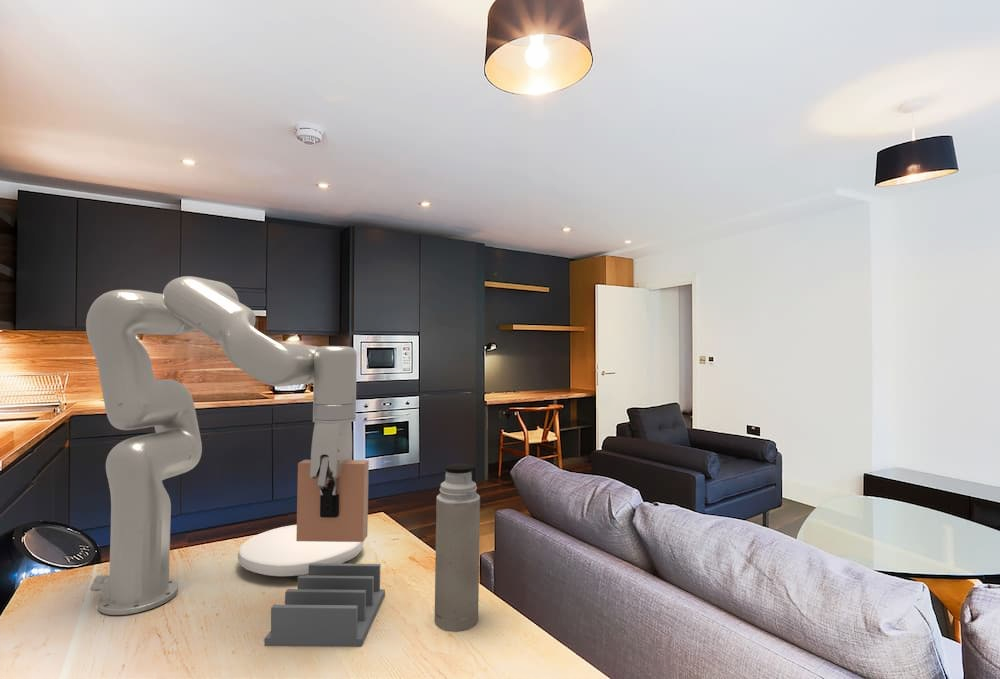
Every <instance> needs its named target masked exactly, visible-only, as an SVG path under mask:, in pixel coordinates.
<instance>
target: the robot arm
mask: <svg viewBox="0 0 1000 679" xmlns="http://www.w3.org/2000/svg"><path fill="white" fill-rule="evenodd" d="M163 288H164V289H163V292H162V293H156V292H152V291H146V290H136V289H115V290H110V291H107V292H104V293H103V294H102V295H100V296H99V297H97V298H96V299H95V300H94V301H93V302H92V304H91V306H89V307H90V308H89V310H88V312H87V315H86V320H85V329H86V335H87V338H88V342H89V346H90V347H91V350H92V353H93V355H94V358H95V360H96V365H97V369H98V377H99V382H100V388H101V392H102V397H103V398H102V399H103V403H104V408H105V412H106V416H107V419H108V422H109V423H110V425H111V426H113V428H115V429H118V430H120V431H121V430H122V431H133V430H139V429H145V428H151V427H154V431H155V432H152V433H146V434H142V435H137V436H133V437H130V438H127V439H124V440H122V441H121V442H119V443H117V444H116V445H115V446H113V447H112V449H111V450H110V451H109V453H108V454H107V457H106V460H105V472H106V477H107V482H108V488H109V492H110V543H109V544H110V546H109V547H110V548H109V575H96V577H95V578H94V579H93V583H92V584H91V585H90V589H89V591H91V592H99V591H102V597H100V599H99V600H98V603H97V610H98V611H99V612H100V613H102V614H104V615H108V616H109V615H111V616H123V615H124V616H125V615H131V614H132V615H133V614H137V613H142V612H144V611H149V610H151V609H155V608H157V607H159V606H162V605H163V604H166V603H167V602H169V601H171V600H172V599H173V598H175V596H177V594H178V590H179V584H178V583H177V582H176V581H174V580H173V579H170V553H171V551H170V550H171V548H170V547H171V521H172V520H171V517H172V516H171V515H172V514H171V513H172V510H171V509H172V503H171V498H170V496H169V493H168V492H167V489H166V488H165V486H164V484H163V481H164V480H167V479H169V478H172V477H176V476H179V475H183V474H185V473H187V472H190V471H191V470H193V469H194V468H195V467H196V466H198V464H199V462H200V460H201V457H202V453H203V445H202V444H203V442H202V439H201V432H200V428H199V422H198V417H197V412H196V409H195V408H196V406H195V402H194V398H193V396H192V394H191V392H190V390H189V389H188V388H187V387H186V386H185V385H184V384H183V383H181V382H180V381H177V380H175V379H168V378H166V379H165V378H164V379H156V377H155V374H154V371H153V367H152V360H151V357H150V355H149V353H148V351H147V349H146V348H145V346H143V344H142V343H141V342H140V341H139V340H138V338H137V335H139V334H140V335H141V334H142V335H159V336H160V335H161V336H174V335H175V336H176V335H182V334H187V333H191V332H193V331H199V332H201V333H202V334H204V335H206V336H207V337H208V338H209V339H212V340H213V341H214V342H216V343H218V344H219V345H221V348H222V351H223V353H224V354H225V356H226V357H227V359H228V360H229V362H231V363H232V364H233V365H234V366H235V367H237V368H238V369H239V370H241V371H242V372H244V373H246V374H247V375H249V376H250V377H252V378H254V379H256V380H257V381H259V382H261V383H263V384H265V385H268V386H271V387H279V388H281V387H288V386H297V385H306V384H307V385H308V384H313V391H312V392H313V395H312V396H313V398H312V403H313V404H312V423H314V425H313V426H314V427H313V432H312V440H311V449H310V460H311V463H310V477H311V478H312V479H315V478H317V477H319V479H318V487H319V488H320V517H327V518H336V517H338V515H339V494H337V487H338V477H339V476H341V475H342V472H343V465H344V463H345V462H347V461H348V460H353V430H352V422H356V421H357V418H356V417H357V413H356V412H357V368H358V366H357V365H358V363H357V362H358V361H357V360H358V357H357V356H358V355H357V351H356V350H355V348H353V347H352V346H346V345H345V346H344V345H343V346H341V345H325V346H316V345H311V344H297V343H295V344H294V343H280V342H278V341H276V340H274V339H272V338H271V337H269V336H267V335H266V334H264V333H263V332H261V331H259V330H258V329H257V328H255V324H256V318H257V317H256V314H255V313H254V311H253V310H252V309H251V308H250V307H248V306H247V305H245V304H243V303H241V302H240V300H239V296H238V294H237V292H236V291H235V290H234V289H233V288H232V287H231V286H230V285H228V284H227V283H225V282H222V281H217V280H212V279H207V278H203V277H198V276H190V275H188V276H187V275H186V276H185V275H184V276H180V277H177V278H174V279H172V280H170V281H169V282H168V283H167V284H166V285H165V286H164V287H163ZM320 467H321V468H320ZM319 471H320V472H319ZM328 474H333V475H332V477H328ZM329 481H333V486H332V483H329Z"/></svg>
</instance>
